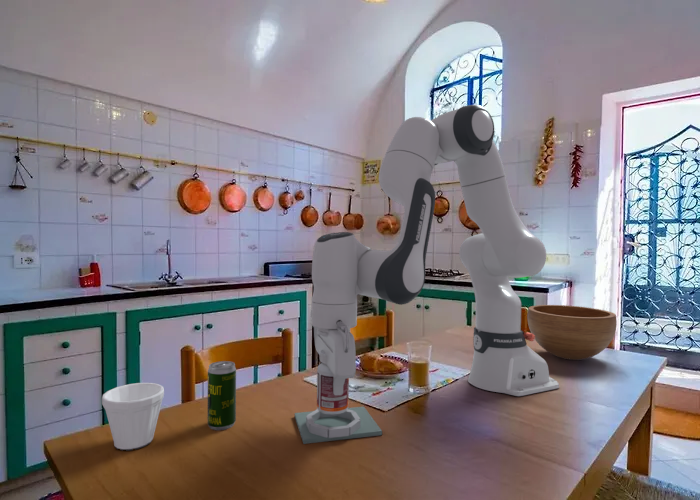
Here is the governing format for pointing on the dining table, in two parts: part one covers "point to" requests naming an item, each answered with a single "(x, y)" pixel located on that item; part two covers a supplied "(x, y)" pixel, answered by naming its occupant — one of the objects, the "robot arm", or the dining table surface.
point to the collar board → (336, 425)
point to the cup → (133, 413)
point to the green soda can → (221, 395)
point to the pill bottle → (330, 390)
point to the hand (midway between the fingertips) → (333, 387)
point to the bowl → (571, 330)
